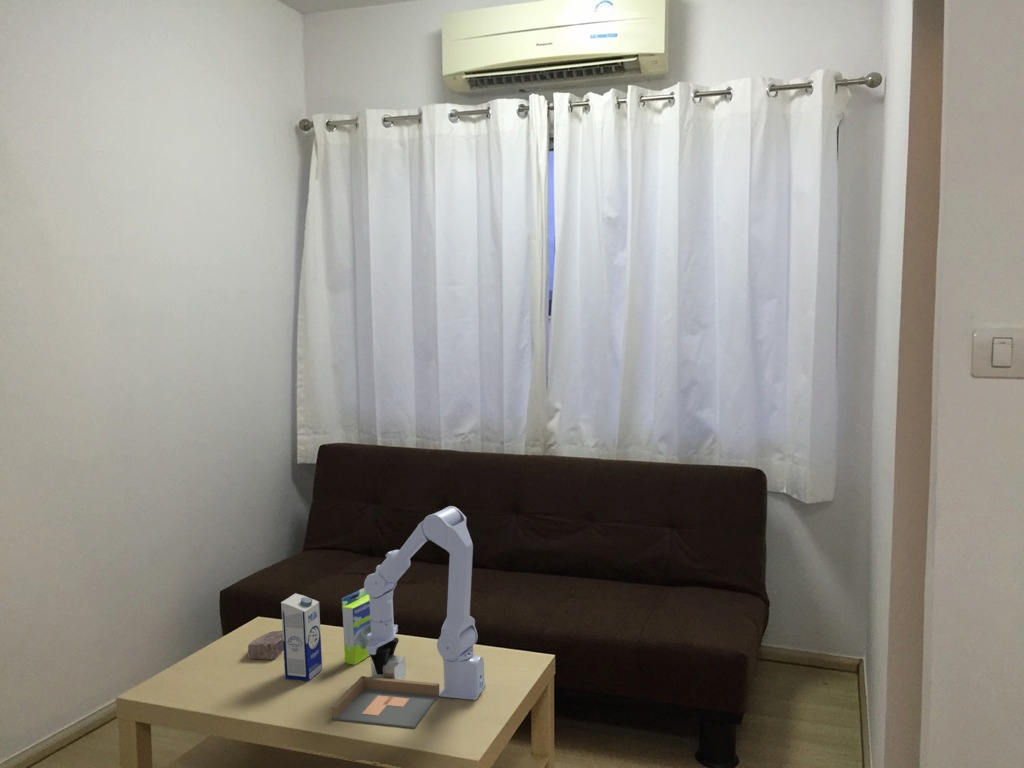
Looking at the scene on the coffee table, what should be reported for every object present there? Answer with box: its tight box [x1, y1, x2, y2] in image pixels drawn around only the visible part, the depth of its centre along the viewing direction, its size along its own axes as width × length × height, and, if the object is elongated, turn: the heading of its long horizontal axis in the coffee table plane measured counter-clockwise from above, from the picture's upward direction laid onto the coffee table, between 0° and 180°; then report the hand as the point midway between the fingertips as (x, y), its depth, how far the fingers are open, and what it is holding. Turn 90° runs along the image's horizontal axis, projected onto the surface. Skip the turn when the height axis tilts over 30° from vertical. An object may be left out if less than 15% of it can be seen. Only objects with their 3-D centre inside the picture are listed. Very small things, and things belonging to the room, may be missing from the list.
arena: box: [330, 675, 440, 730], centre depth 189 cm, size 20×16×3 cm
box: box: [341, 587, 371, 665], centre depth 217 cm, size 10×4×17 cm, turn 151°
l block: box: [370, 654, 407, 680], centre depth 203 cm, size 8×7×5 cm
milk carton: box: [280, 592, 323, 682], centre depth 207 cm, size 7×7×20 cm
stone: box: [247, 629, 284, 661], centre depth 223 cm, size 12×9×5 cm
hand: (384, 670), depth 205 cm, fingers closed on l block, 3 cm apart
